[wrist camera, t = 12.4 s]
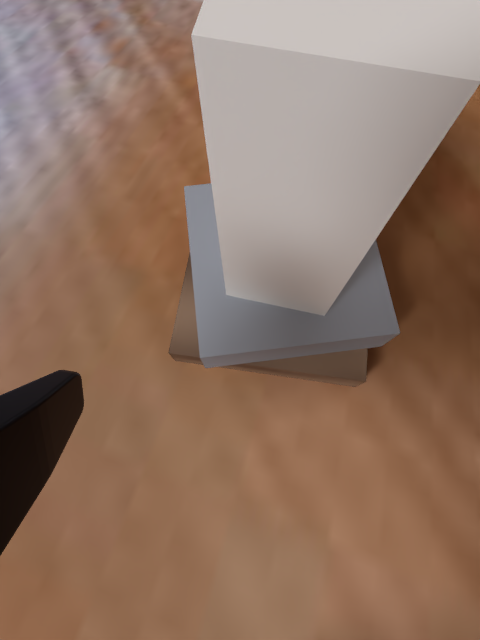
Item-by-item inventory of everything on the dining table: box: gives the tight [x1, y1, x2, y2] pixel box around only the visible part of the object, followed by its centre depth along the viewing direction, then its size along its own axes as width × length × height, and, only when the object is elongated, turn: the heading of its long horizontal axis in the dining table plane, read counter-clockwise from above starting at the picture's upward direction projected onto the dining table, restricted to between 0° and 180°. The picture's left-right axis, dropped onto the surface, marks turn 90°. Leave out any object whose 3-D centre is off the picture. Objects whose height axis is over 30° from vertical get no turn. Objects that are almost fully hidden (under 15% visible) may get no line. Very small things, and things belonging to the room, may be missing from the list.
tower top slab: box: [184, 184, 400, 368], centre depth 19 cm, size 9×9×2 cm
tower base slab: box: [169, 253, 368, 387], centre depth 22 cm, size 10×10×2 cm
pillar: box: [191, 0, 480, 316], centre depth 12 cm, size 5×5×12 cm
